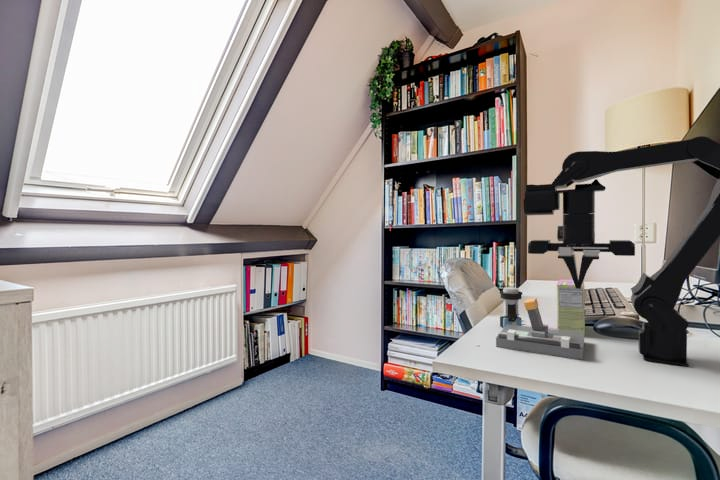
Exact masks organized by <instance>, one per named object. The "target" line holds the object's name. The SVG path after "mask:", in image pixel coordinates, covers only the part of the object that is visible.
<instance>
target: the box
mask: <svg viewBox="0 0 720 480" xmlns="http://www.w3.org/2000/svg"><path fill="white" fill-rule="evenodd" d="M556 301H557V302H556V305H557V306H556V307H557V311H556V312H557V313H556V314H557V315H556V316H557V320H556V321H557V326H556V327H557V329H556V330H560V331H568V332H576V333H584V337H585V336H586V333H585V332H586V330H585V323H586V322H585V321H586V319H585V315H586V314H585V313H586V312H585V306H586V305H585V282H584V280H583V283H582V286H581V288H580V289H577V288H576V287H575V284H574V281H573V279H558V281H557V283H556Z"/></svg>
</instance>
